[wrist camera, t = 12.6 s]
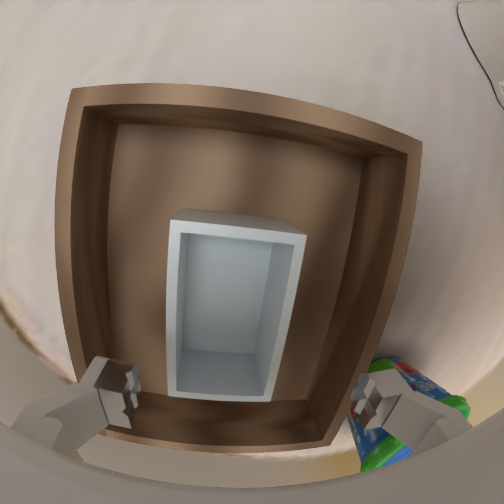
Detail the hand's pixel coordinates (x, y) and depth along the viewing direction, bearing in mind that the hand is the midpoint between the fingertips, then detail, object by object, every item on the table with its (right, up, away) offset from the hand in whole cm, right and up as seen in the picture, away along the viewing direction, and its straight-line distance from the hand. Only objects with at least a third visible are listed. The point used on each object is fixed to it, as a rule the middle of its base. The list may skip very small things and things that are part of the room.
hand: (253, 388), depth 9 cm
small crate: (-2, +2, +9) cm, 9 cm away
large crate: (-2, +2, +10) cm, 10 cm away
